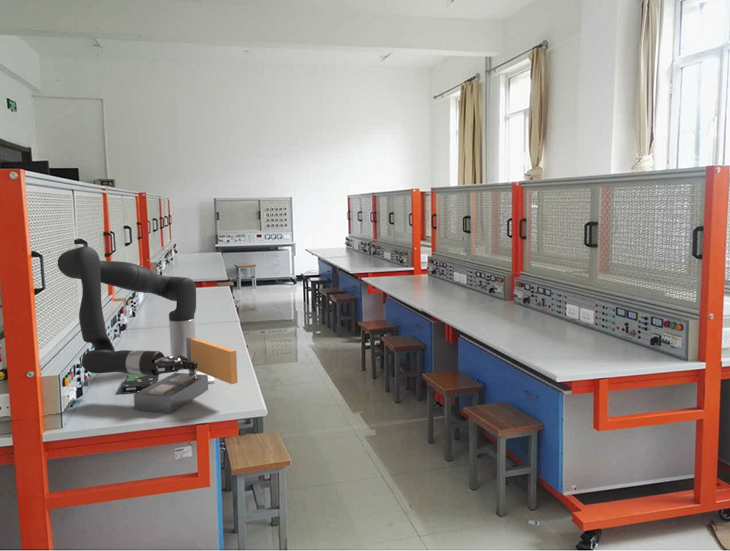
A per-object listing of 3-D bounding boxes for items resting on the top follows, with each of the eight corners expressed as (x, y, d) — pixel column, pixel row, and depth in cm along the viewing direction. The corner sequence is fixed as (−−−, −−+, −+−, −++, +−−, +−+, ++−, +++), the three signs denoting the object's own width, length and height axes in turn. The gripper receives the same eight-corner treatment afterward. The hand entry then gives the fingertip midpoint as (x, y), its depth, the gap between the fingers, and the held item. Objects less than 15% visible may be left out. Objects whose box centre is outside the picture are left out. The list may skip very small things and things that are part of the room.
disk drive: (155, 392, 190) (159, 378, 204) (155, 384, 189) (158, 370, 203) (121, 395, 187) (127, 381, 201) (121, 387, 186) (127, 373, 201)
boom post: (192, 386, 193) (191, 367, 193) (198, 386, 193) (197, 367, 192) (188, 388, 191) (187, 369, 190) (194, 388, 191) (193, 369, 190)
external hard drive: (213, 374, 208) (215, 384, 197) (189, 376, 206) (189, 387, 194) (213, 370, 208) (214, 380, 196) (189, 372, 206) (189, 382, 194)
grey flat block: (175, 387, 192) (174, 371, 192) (208, 389, 190) (207, 373, 189) (134, 410, 171) (133, 392, 171) (170, 413, 168) (169, 395, 168)
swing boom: (185, 367, 191) (184, 337, 190) (194, 365, 193) (193, 336, 192) (230, 384, 172) (228, 352, 171) (239, 382, 174) (237, 350, 173)
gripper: (131, 356, 172) (183, 359, 168) (156, 345, 185) (206, 348, 181) (133, 380, 173) (185, 384, 169) (158, 368, 186) (207, 371, 182)
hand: (195, 365), depth 175 cm, fingers closed
